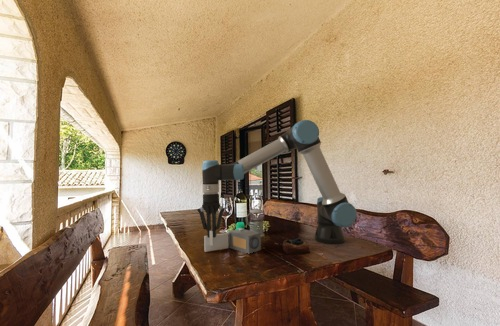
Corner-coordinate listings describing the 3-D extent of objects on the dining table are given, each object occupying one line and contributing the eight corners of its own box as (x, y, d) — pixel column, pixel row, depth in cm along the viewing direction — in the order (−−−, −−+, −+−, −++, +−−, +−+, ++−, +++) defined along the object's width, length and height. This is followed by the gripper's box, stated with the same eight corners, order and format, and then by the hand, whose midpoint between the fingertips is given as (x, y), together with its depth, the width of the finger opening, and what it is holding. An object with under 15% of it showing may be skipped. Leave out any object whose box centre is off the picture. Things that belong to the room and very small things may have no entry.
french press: (259, 237, 137) (259, 193, 138) (242, 235, 143) (241, 192, 144) (267, 233, 145) (266, 192, 146) (250, 231, 151) (250, 191, 152)
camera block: (263, 250, 114) (262, 231, 114) (250, 254, 108) (250, 235, 109) (240, 244, 125) (240, 227, 125) (228, 247, 119) (228, 229, 119)
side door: (205, 251, 112) (205, 236, 112) (204, 250, 114) (203, 235, 114) (230, 247, 118) (230, 233, 118) (229, 246, 119) (228, 232, 120)
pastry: (280, 248, 118) (280, 236, 118) (304, 247, 119) (303, 234, 120) (286, 255, 107) (286, 242, 107) (312, 254, 109) (312, 241, 109)
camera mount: (254, 243, 127) (254, 223, 127) (240, 244, 125) (240, 224, 125) (248, 237, 138) (248, 219, 139) (235, 238, 136) (235, 220, 137)
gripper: (194, 194, 110) (195, 246, 109) (222, 193, 109) (223, 247, 108) (200, 193, 118) (201, 242, 117) (226, 192, 116) (227, 242, 115)
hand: (212, 244), depth 112 cm, fingers closed
